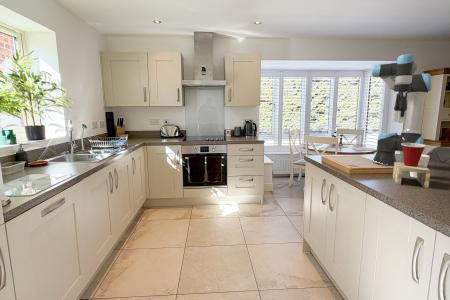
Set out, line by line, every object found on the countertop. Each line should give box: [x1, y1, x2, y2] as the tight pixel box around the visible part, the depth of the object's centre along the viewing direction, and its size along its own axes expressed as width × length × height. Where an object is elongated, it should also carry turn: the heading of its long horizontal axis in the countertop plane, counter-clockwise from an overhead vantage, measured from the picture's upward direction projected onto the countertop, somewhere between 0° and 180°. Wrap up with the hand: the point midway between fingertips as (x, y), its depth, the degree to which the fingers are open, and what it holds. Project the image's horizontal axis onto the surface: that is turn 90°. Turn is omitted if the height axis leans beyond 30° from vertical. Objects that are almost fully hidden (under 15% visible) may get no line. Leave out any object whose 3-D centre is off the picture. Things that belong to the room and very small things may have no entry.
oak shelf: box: [392, 161, 432, 189], centre depth 135 cm, size 18×13×9 cm
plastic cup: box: [401, 143, 427, 167], centre depth 134 cm, size 11×11×12 cm
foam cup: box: [409, 154, 431, 179], centre depth 146 cm, size 10×9×13 cm
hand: (398, 122), depth 141 cm, fingers open, 13 cm apart
